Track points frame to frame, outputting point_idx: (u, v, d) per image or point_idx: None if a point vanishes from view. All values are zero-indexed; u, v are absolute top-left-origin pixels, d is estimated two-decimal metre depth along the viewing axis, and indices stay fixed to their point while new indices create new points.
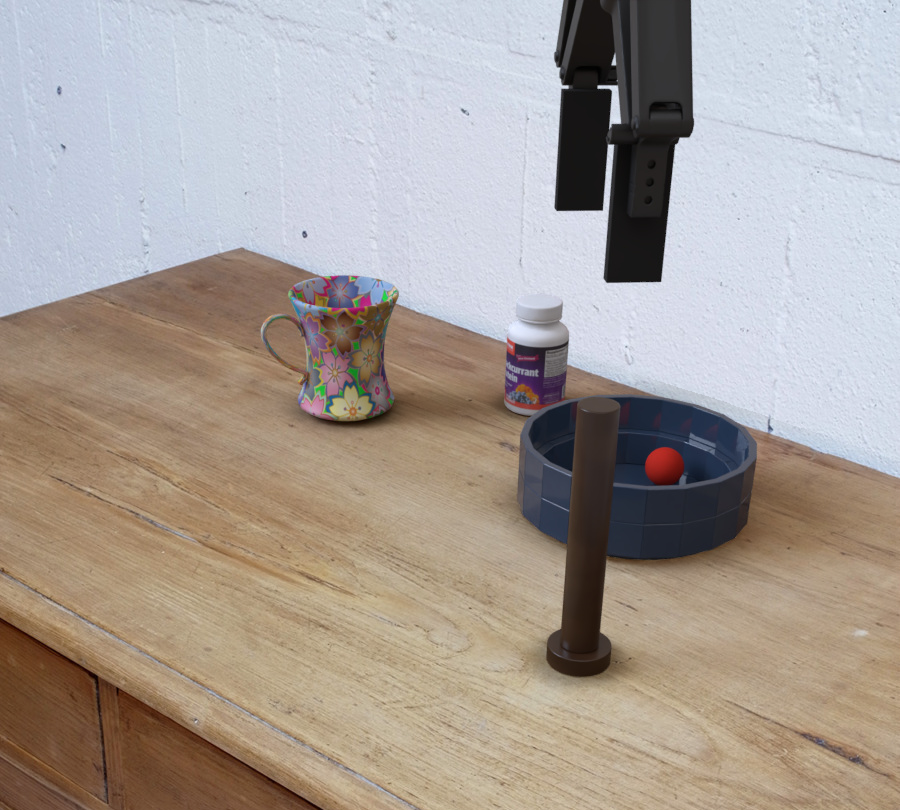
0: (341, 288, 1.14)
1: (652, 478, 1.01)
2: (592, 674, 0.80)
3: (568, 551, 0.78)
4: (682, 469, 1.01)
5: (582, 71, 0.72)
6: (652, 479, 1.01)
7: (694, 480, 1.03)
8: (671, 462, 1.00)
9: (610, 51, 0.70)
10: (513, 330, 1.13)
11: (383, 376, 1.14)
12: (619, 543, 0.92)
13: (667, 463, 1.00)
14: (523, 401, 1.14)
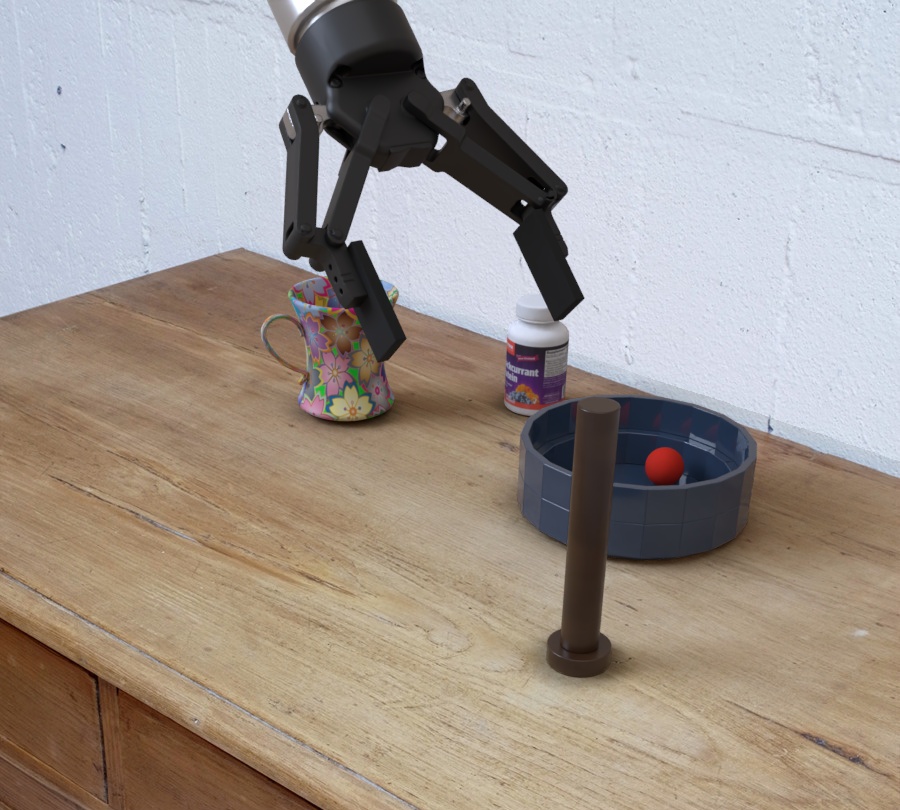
0: None
1: (652, 478, 1.01)
2: (592, 674, 0.80)
3: (568, 551, 0.78)
4: (682, 469, 1.01)
5: (524, 210, 0.85)
6: (652, 479, 1.01)
7: (694, 480, 1.03)
8: (671, 462, 1.00)
9: (507, 186, 0.83)
10: (513, 330, 1.13)
11: (383, 376, 1.13)
12: (619, 543, 0.92)
13: (667, 463, 1.00)
14: (523, 401, 1.14)
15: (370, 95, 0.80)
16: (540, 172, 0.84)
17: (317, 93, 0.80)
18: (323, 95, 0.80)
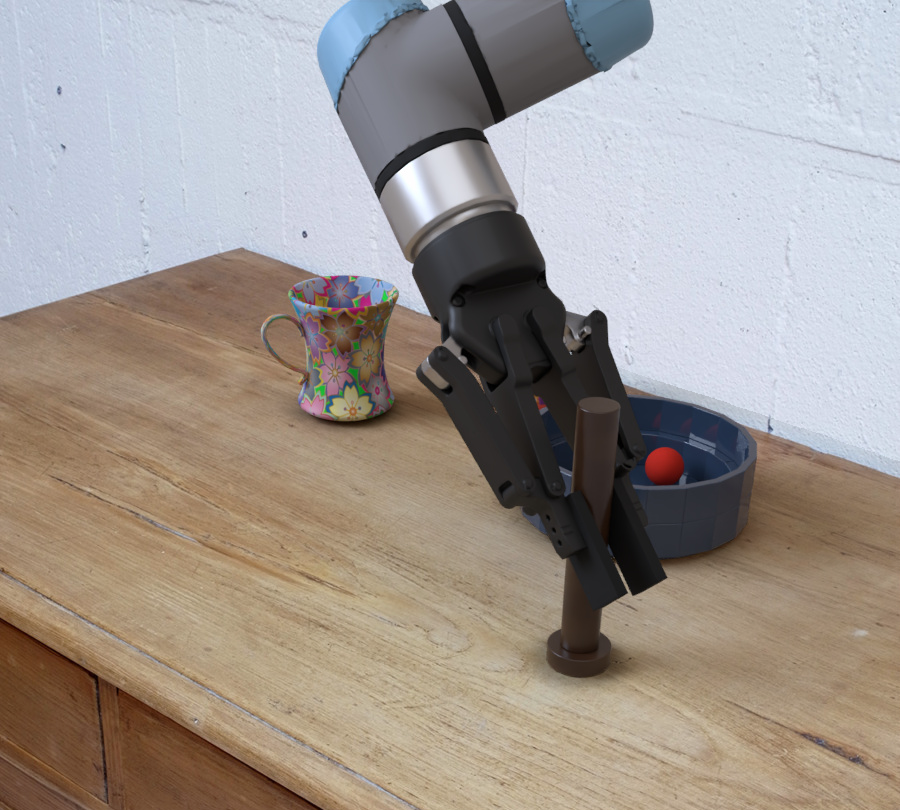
0: (341, 288, 1.14)
1: (652, 478, 1.01)
2: (592, 674, 0.80)
3: None
4: (682, 469, 1.01)
5: None
6: (652, 479, 1.01)
7: (694, 480, 1.03)
8: (671, 462, 1.00)
9: None
10: None
11: (383, 376, 1.14)
12: None
13: (667, 463, 1.00)
14: None
15: (493, 312, 0.77)
16: (625, 425, 0.78)
17: (438, 310, 0.77)
18: (444, 313, 0.76)
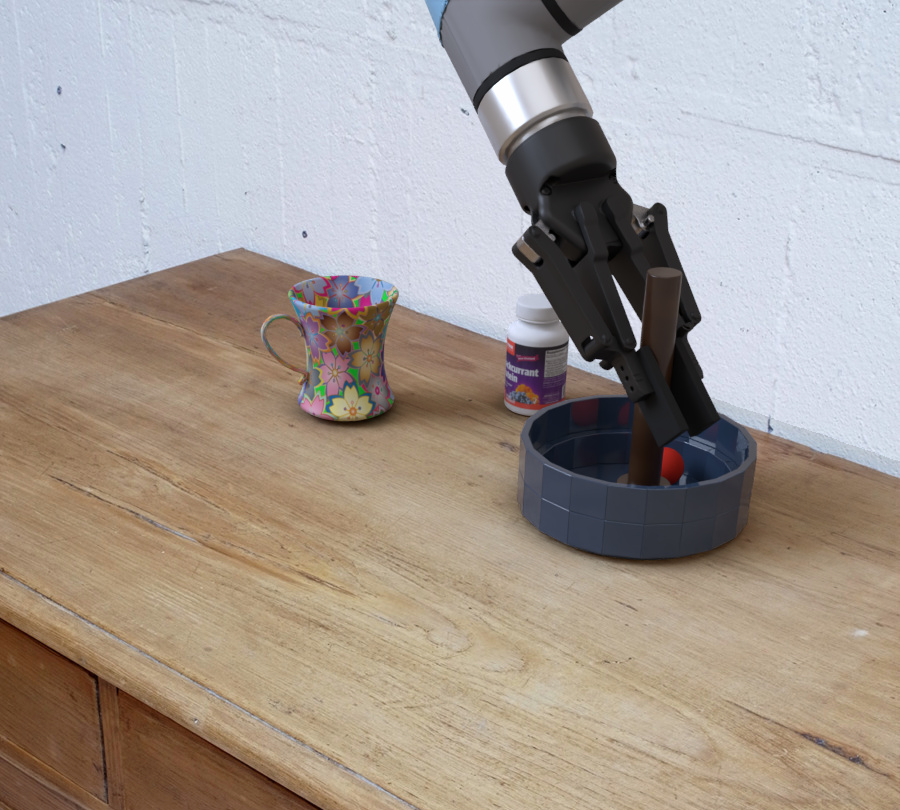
0: (341, 288, 1.14)
1: None
2: None
3: None
4: (682, 469, 1.01)
5: None
6: None
7: (694, 480, 1.03)
8: (671, 462, 1.00)
9: None
10: (513, 330, 1.13)
11: (383, 376, 1.13)
12: (619, 543, 0.92)
13: (667, 463, 1.00)
14: (523, 401, 1.14)
15: (574, 201, 0.92)
16: (683, 296, 0.94)
17: (528, 199, 0.92)
18: (534, 201, 0.92)
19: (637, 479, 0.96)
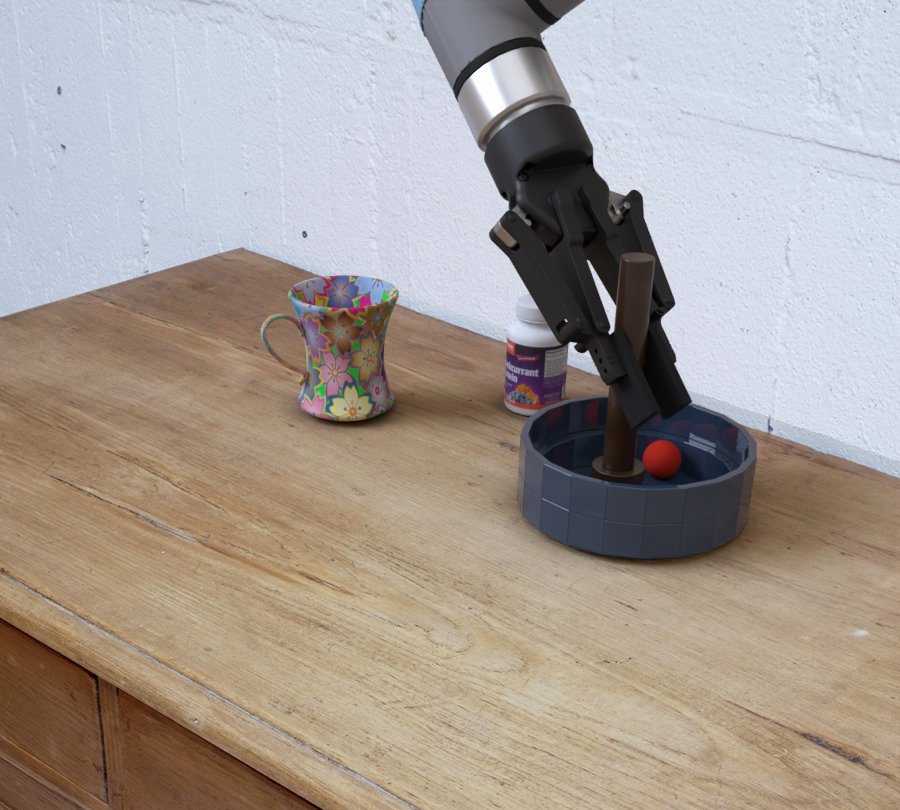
0: (341, 288, 1.14)
1: (651, 460, 1.02)
2: None
3: None
4: (679, 453, 1.02)
5: None
6: (651, 462, 1.02)
7: (694, 480, 1.03)
8: (667, 442, 1.02)
9: None
10: (513, 330, 1.13)
11: (383, 376, 1.13)
12: (619, 543, 0.92)
13: (663, 442, 1.02)
14: (523, 401, 1.14)
15: (551, 187, 0.94)
16: (658, 282, 0.96)
17: (506, 185, 0.94)
18: (512, 187, 0.94)
19: (612, 461, 0.98)
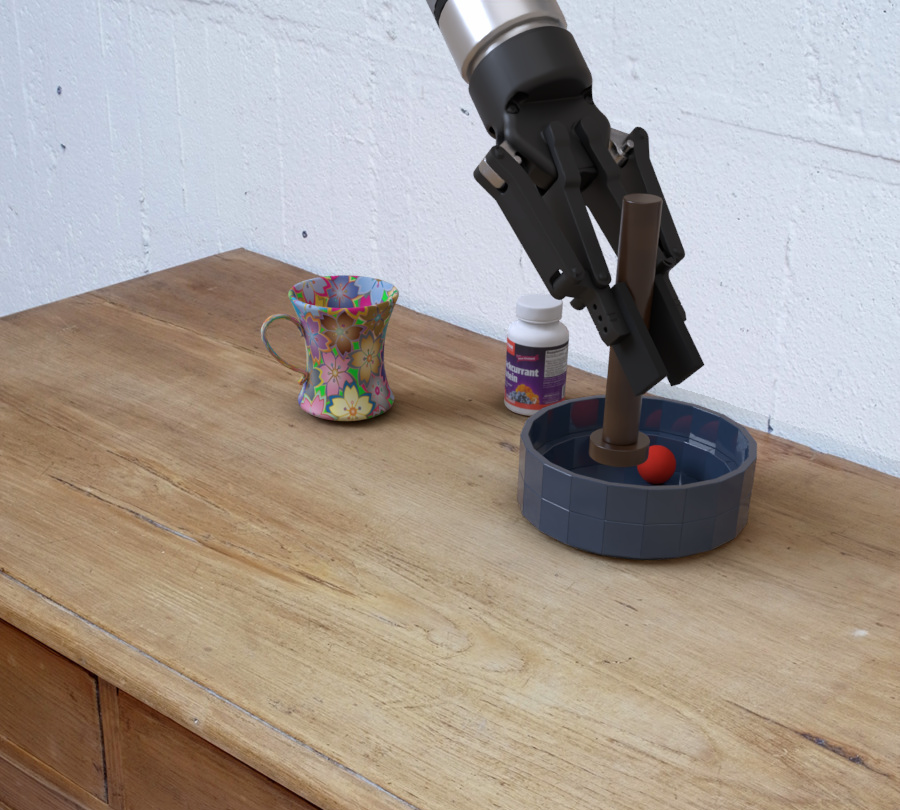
0: (341, 288, 1.14)
1: (645, 477, 1.02)
2: (632, 464, 0.87)
3: None
4: (671, 461, 1.01)
5: None
6: (645, 478, 1.02)
7: (694, 480, 1.03)
8: (656, 455, 1.01)
9: None
10: (513, 330, 1.13)
11: (383, 376, 1.14)
12: (619, 543, 0.92)
13: (652, 458, 1.01)
14: (523, 401, 1.14)
15: (544, 121, 0.83)
16: (665, 230, 0.84)
17: (493, 118, 0.83)
18: (500, 120, 0.82)
19: (612, 433, 0.86)
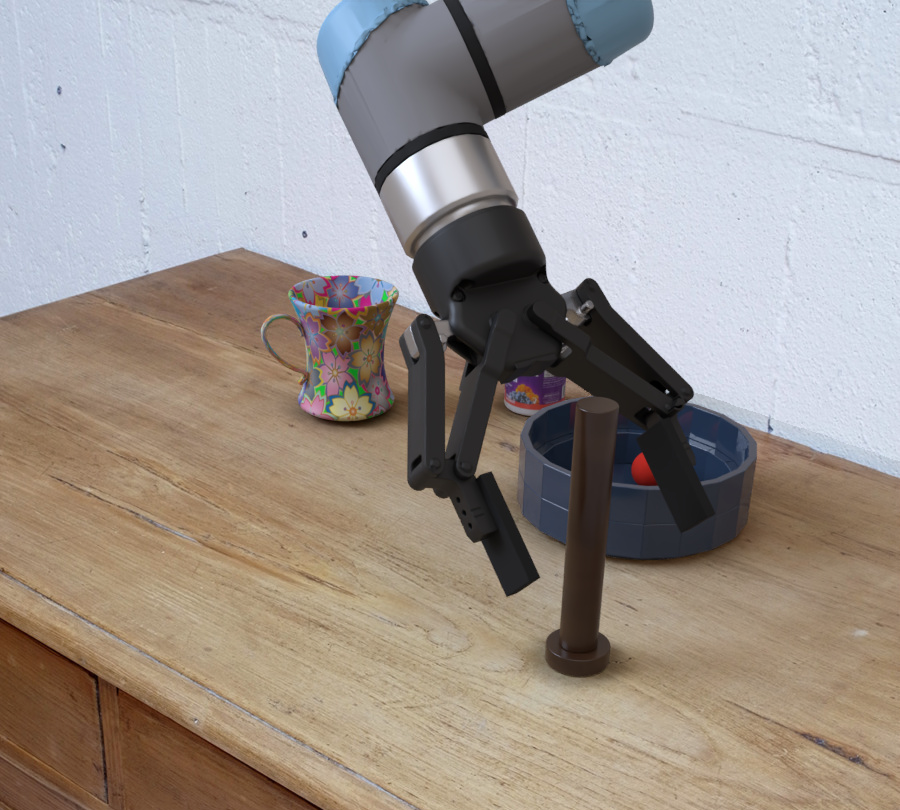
0: (341, 288, 1.14)
1: None
2: (591, 674, 0.80)
3: (567, 551, 0.78)
4: None
5: (648, 415, 0.81)
6: None
7: None
8: (646, 474, 1.00)
9: (632, 394, 0.79)
10: None
11: (383, 376, 1.14)
12: (619, 543, 0.92)
13: (643, 477, 1.00)
14: (523, 401, 1.14)
15: (493, 307, 0.76)
16: (666, 376, 0.81)
17: (438, 305, 0.77)
18: (445, 308, 0.76)
19: (569, 641, 0.80)
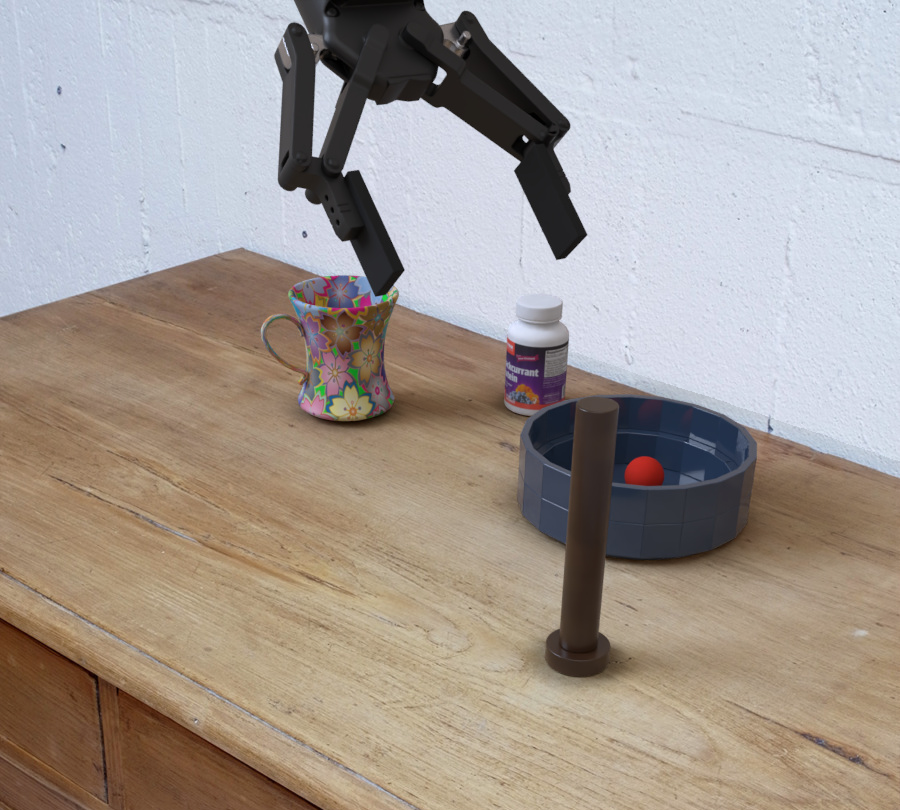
0: (341, 288, 1.14)
1: None
2: (591, 674, 0.80)
3: (567, 551, 0.78)
4: None
5: (526, 146, 0.83)
6: None
7: (694, 480, 1.03)
8: None
9: (508, 120, 0.81)
10: (513, 330, 1.13)
11: (383, 376, 1.14)
12: (619, 543, 0.92)
13: None
14: (523, 401, 1.14)
15: (367, 26, 0.78)
16: (542, 107, 0.83)
17: (314, 24, 0.79)
18: (320, 25, 0.78)
19: (569, 641, 0.80)
